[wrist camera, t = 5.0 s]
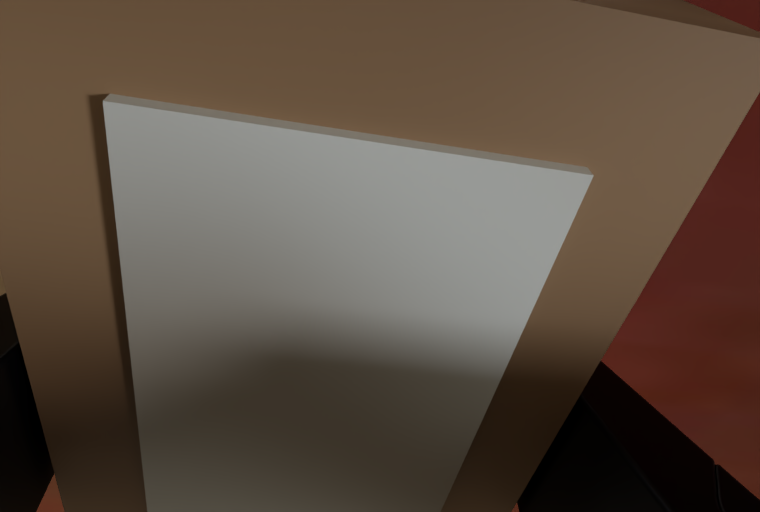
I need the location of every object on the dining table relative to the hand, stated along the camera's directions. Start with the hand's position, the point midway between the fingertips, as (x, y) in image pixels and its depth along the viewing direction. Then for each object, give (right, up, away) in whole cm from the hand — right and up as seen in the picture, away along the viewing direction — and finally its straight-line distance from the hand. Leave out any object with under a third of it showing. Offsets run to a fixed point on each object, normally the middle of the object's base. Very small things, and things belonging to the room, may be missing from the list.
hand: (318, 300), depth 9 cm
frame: (0, +1, +1) cm, 1 cm away
